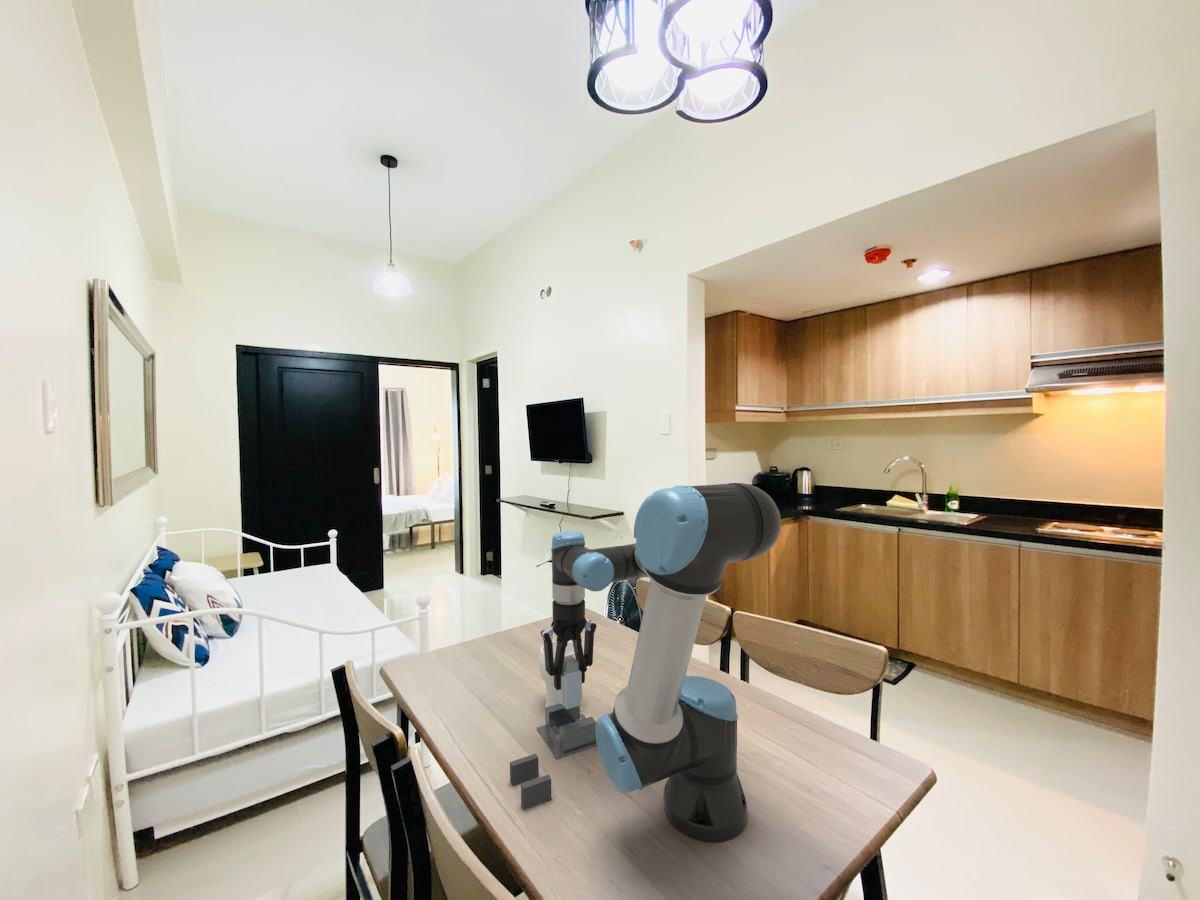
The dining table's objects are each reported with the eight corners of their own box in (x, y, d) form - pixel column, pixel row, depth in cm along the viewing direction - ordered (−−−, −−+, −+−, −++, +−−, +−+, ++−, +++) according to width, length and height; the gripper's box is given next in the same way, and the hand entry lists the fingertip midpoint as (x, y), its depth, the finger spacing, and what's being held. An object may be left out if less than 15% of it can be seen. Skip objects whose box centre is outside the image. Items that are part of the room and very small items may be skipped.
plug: (580, 705, 110) (580, 663, 110) (566, 709, 109) (566, 666, 108) (571, 694, 115) (571, 653, 114) (557, 698, 113) (558, 656, 112)
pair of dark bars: (551, 799, 92) (551, 778, 92) (523, 809, 89) (523, 788, 89) (536, 772, 99) (536, 753, 99) (510, 781, 97) (509, 762, 97)
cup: (574, 719, 118) (574, 658, 118) (533, 714, 120) (533, 655, 120) (584, 696, 129) (584, 640, 128) (546, 692, 131) (546, 638, 130)
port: (605, 742, 109) (604, 720, 109) (556, 759, 103) (555, 736, 103) (582, 715, 120) (582, 695, 119) (536, 729, 114) (536, 708, 114)
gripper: (593, 589, 118) (594, 683, 118) (529, 600, 110) (530, 701, 111) (607, 598, 111) (608, 697, 112) (540, 610, 104) (541, 717, 104)
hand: (569, 699), depth 111 cm, fingers closed on plug, 3 cm apart
